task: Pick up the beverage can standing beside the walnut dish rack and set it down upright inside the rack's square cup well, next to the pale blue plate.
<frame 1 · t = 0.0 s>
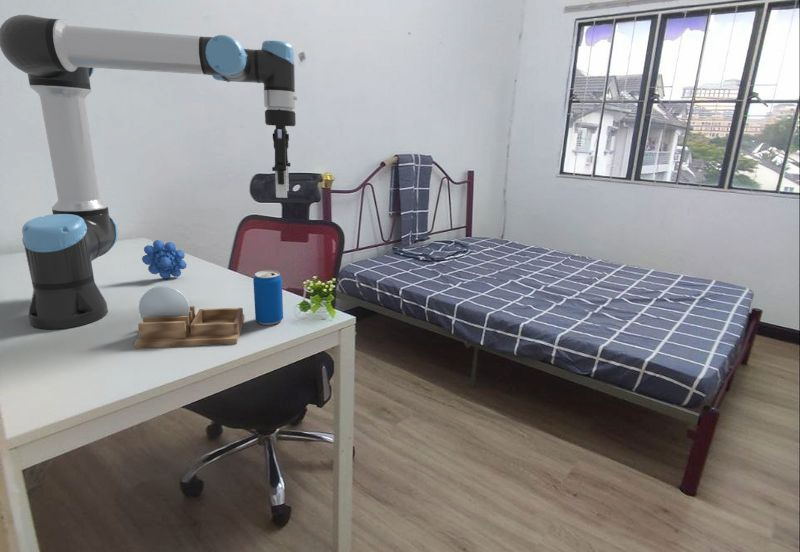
hand: (282, 194, 124), 28 cm above the table, fingers open, 13 cm apart
beverage can: (269, 321, 112), on the table
pale blue plate: (167, 334, 103), resting on dish rack
dish rack: (194, 332, 105), on the table
grapes: (167, 280, 139), on the table
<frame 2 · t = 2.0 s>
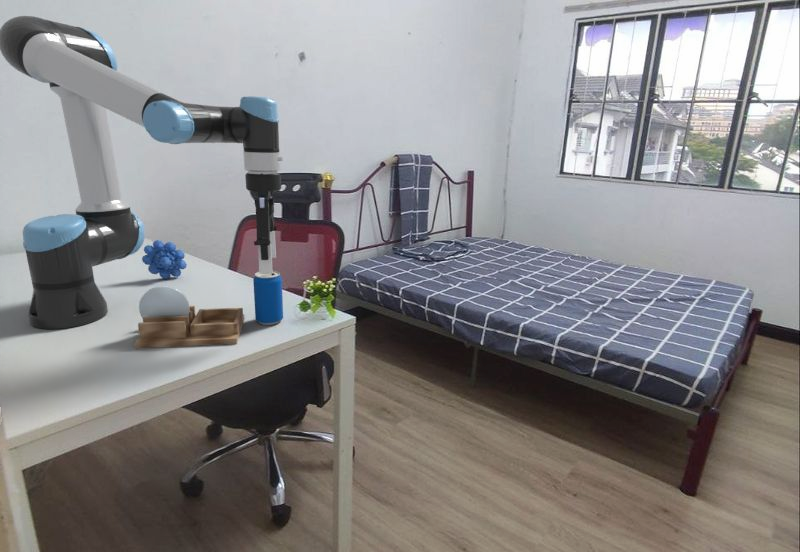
hand: (268, 265, 108), 14 cm above the table, fingers open, 13 cm apart
nothing on the table moved.
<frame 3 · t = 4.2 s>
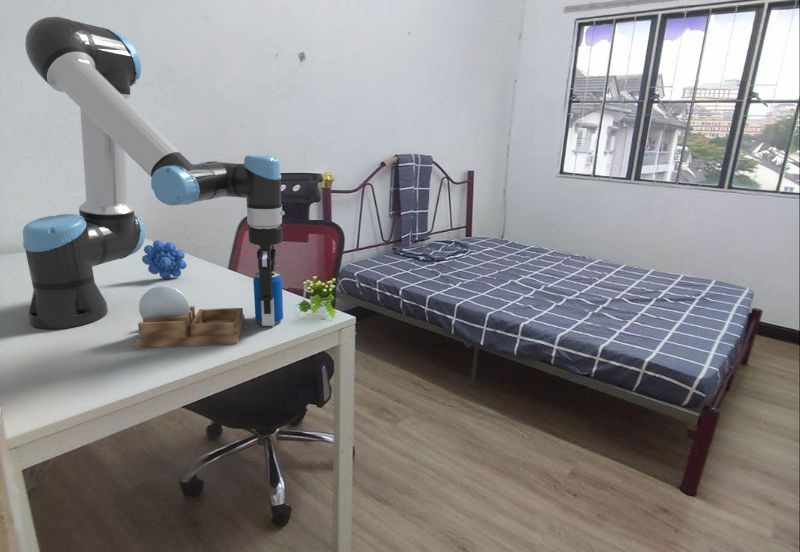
hand: (269, 319, 112), 0 cm above the table, fingers closed on beverage can, 6 cm apart
beverage can: (269, 321, 112), on the table, touching gripper
everything else where it was.
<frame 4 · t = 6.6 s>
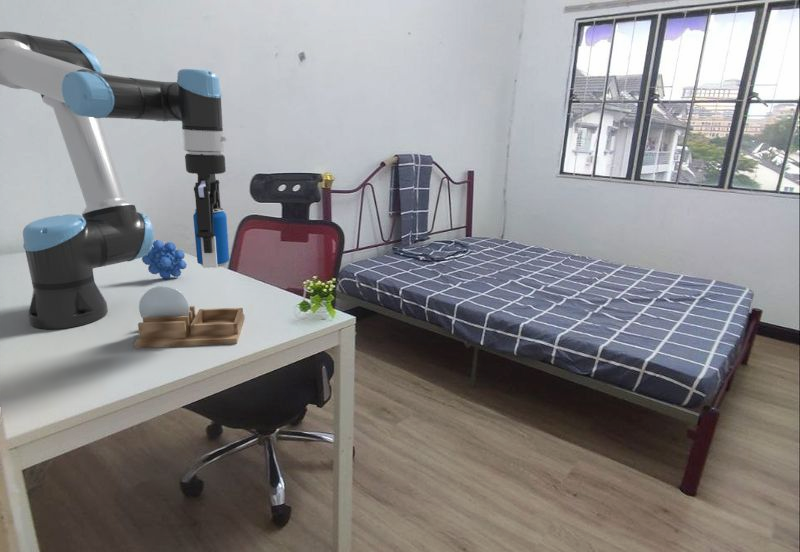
hand: (213, 262, 101), 16 cm above the table, fingers closed on beverage can, 6 cm apart
beverage can: (213, 265, 101), point 16 cm above the table, touching gripper
everything else where it was.
when the fingers open (4 cm above the table, at t = 9.4 s): beverage can drops 2 cm, resting on dish rack.
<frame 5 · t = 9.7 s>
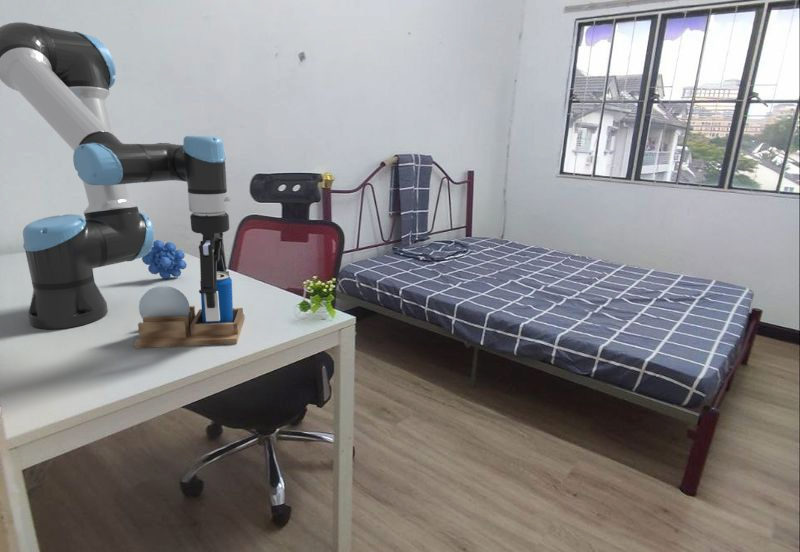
hand: (217, 311, 104), 5 cm above the table, fingers open, 9 cm apart
beverage can: (218, 326, 105), point 1 cm above the table, touching dish rack
everything else where it was.
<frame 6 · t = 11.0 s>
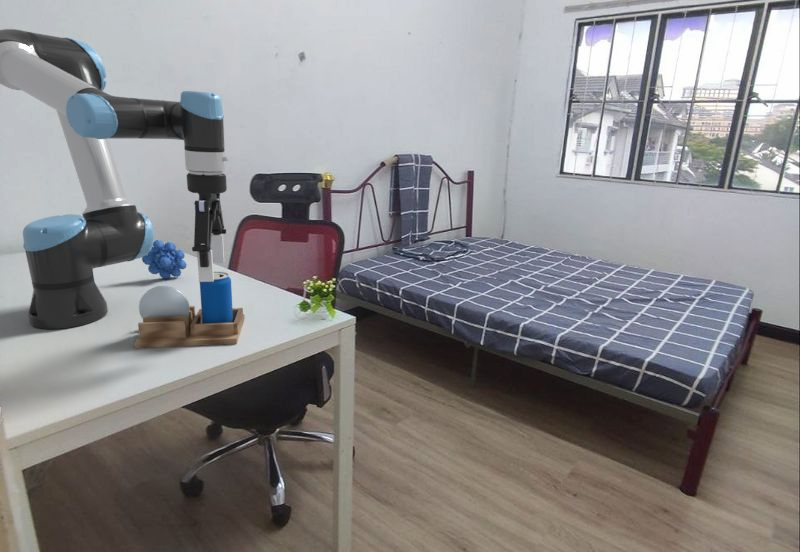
hand: (212, 271, 102), 14 cm above the table, fingers open, 13 cm apart
nothing on the table moved.
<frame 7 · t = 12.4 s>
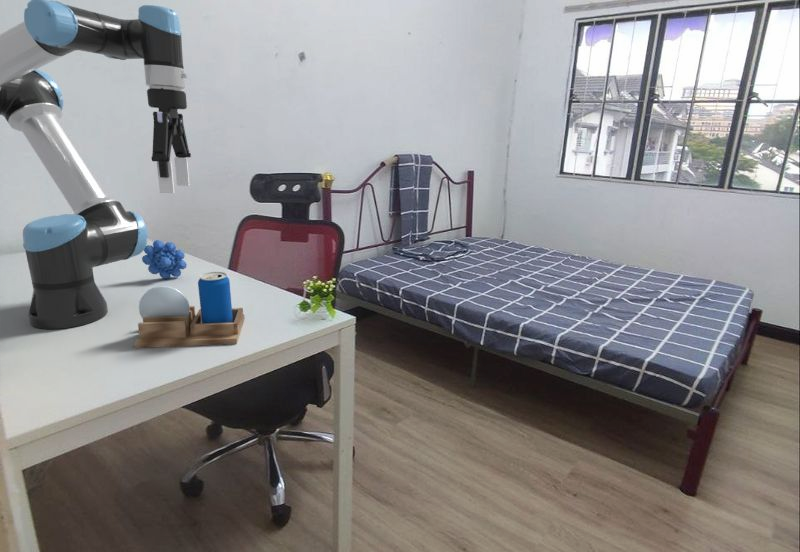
hand: (175, 189, 106), 30 cm above the table, fingers open, 13 cm apart
nothing on the table moved.
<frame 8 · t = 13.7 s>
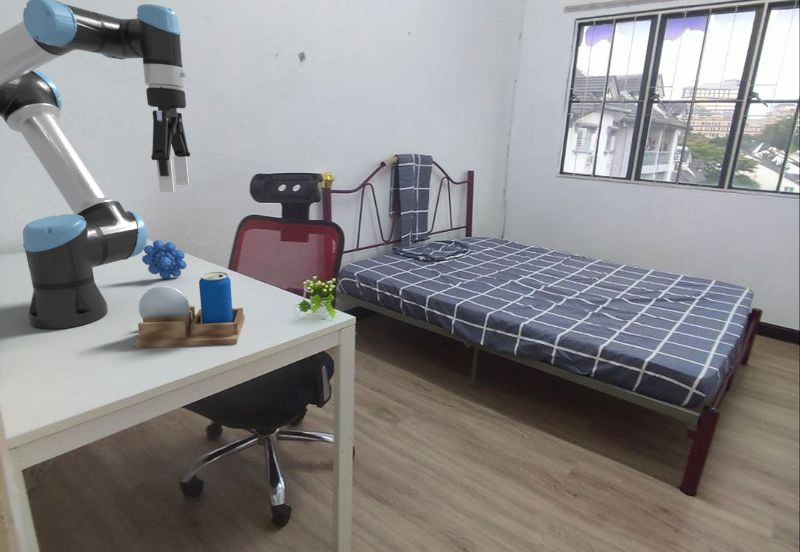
hand: (175, 188, 106), 31 cm above the table, fingers open, 13 cm apart
nothing on the table moved.
at the end: beverage can 0.3 cm from the target spot on the dish rack, point 1.0 cm above the dish rack's base; beverage can tilted 0°; the gripper is holding nothing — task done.
